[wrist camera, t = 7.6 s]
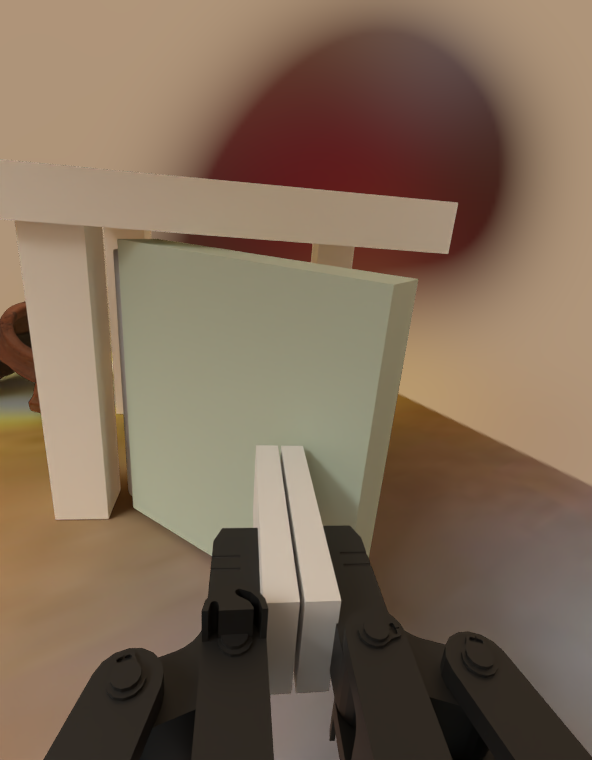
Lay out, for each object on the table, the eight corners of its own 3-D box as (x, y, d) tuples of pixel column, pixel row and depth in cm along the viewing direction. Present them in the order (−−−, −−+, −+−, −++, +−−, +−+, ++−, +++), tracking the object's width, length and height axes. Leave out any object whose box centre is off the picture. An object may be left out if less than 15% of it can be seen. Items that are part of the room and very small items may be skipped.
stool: (32, 530, 21) (-28, 156, 15) (116, 396, 36) (102, 180, 30) (394, 524, 24) (458, 202, 18) (334, 401, 38) (358, 203, 33)
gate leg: (120, 499, 23) (102, 236, 19) (151, 483, 25) (141, 236, 20) (338, 634, 17) (394, 284, 12) (361, 600, 18) (418, 279, 14)
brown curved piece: (87, 368, 43) (112, 302, 38) (97, 449, 37) (128, 382, 33) (-75, 349, 35) (-67, 265, 31) (-93, 447, 30) (-85, 361, 25)
